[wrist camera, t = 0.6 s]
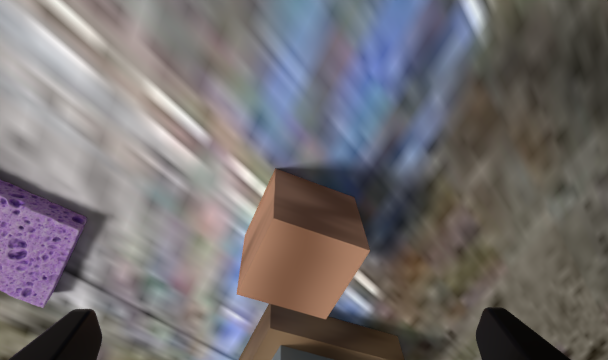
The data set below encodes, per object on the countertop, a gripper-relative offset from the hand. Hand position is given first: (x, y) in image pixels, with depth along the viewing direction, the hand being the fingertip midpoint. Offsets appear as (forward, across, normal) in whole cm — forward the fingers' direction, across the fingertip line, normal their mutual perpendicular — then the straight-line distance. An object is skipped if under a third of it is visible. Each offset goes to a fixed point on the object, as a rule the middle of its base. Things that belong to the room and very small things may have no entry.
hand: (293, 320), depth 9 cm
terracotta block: (+14, -1, +6) cm, 15 cm away
